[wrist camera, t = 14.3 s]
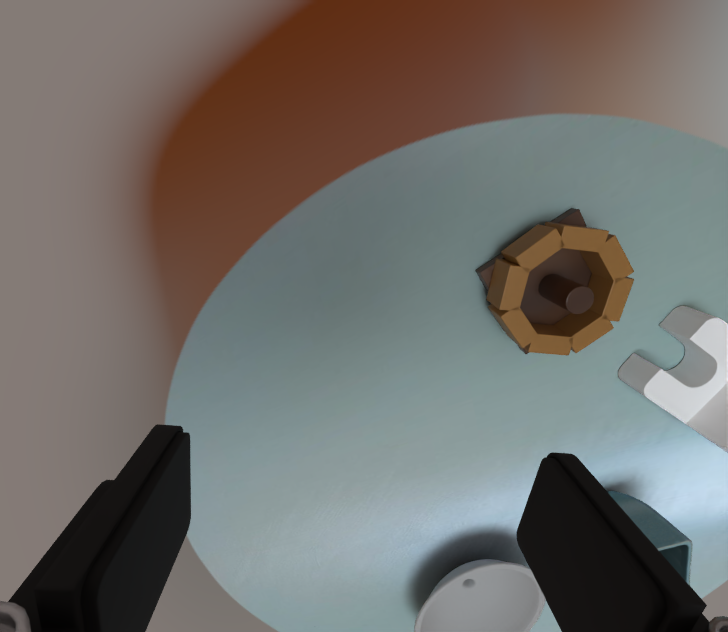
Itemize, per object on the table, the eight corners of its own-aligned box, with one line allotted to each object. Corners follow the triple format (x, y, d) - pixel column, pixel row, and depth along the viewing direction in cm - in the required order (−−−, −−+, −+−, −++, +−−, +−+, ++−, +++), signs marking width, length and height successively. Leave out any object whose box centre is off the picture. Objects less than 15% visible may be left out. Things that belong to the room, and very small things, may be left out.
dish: (460, 509, 45) (475, 547, 41) (550, 548, 49) (573, 587, 44) (383, 603, 50) (388, 647, 45) (470, 633, 53) (483, 677, 48)
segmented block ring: (466, 276, 35) (478, 285, 32) (573, 196, 33) (596, 198, 30) (526, 362, 38) (541, 376, 35) (626, 293, 36) (651, 303, 33)
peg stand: (475, 270, 36) (499, 285, 30) (571, 208, 34) (614, 213, 29) (520, 349, 39) (550, 376, 33) (610, 295, 38) (656, 314, 32)
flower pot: (560, 543, 48) (608, 620, 40) (554, 491, 45) (604, 562, 37) (628, 526, 48) (690, 599, 40) (626, 472, 45) (693, 539, 37)
